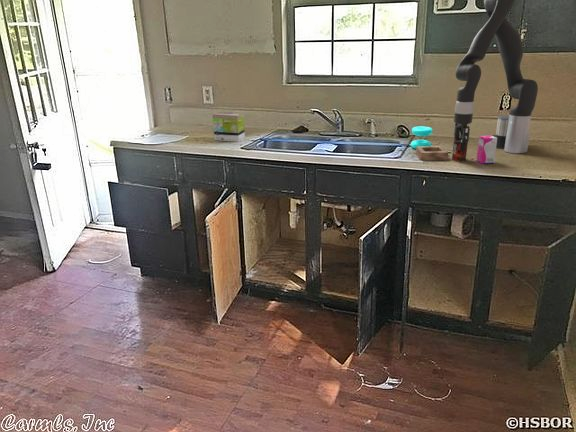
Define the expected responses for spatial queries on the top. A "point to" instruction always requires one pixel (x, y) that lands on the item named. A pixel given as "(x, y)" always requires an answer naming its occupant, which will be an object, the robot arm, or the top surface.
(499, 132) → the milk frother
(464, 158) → the deodorant
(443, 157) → the collar block
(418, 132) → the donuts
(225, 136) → the tea box
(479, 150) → the supplement box
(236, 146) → the top surface
